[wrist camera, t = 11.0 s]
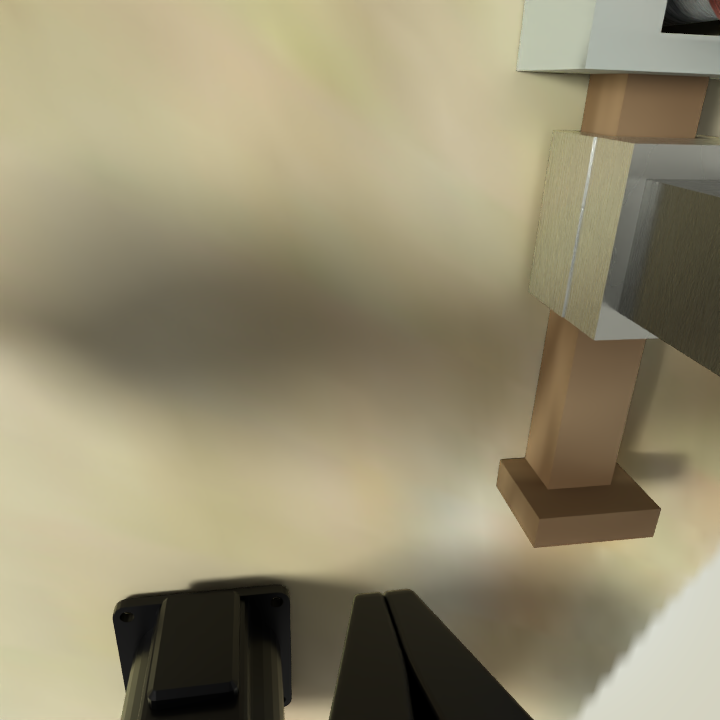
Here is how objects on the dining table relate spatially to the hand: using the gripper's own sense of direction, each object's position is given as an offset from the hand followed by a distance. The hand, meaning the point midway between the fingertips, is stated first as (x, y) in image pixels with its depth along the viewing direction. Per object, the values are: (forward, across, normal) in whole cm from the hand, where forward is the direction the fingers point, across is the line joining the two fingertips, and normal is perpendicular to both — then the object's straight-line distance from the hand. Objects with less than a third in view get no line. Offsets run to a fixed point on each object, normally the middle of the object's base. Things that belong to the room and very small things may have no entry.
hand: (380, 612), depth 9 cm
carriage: (+12, -10, -3) cm, 16 cm away
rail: (+12, -10, 0) cm, 15 cm away
